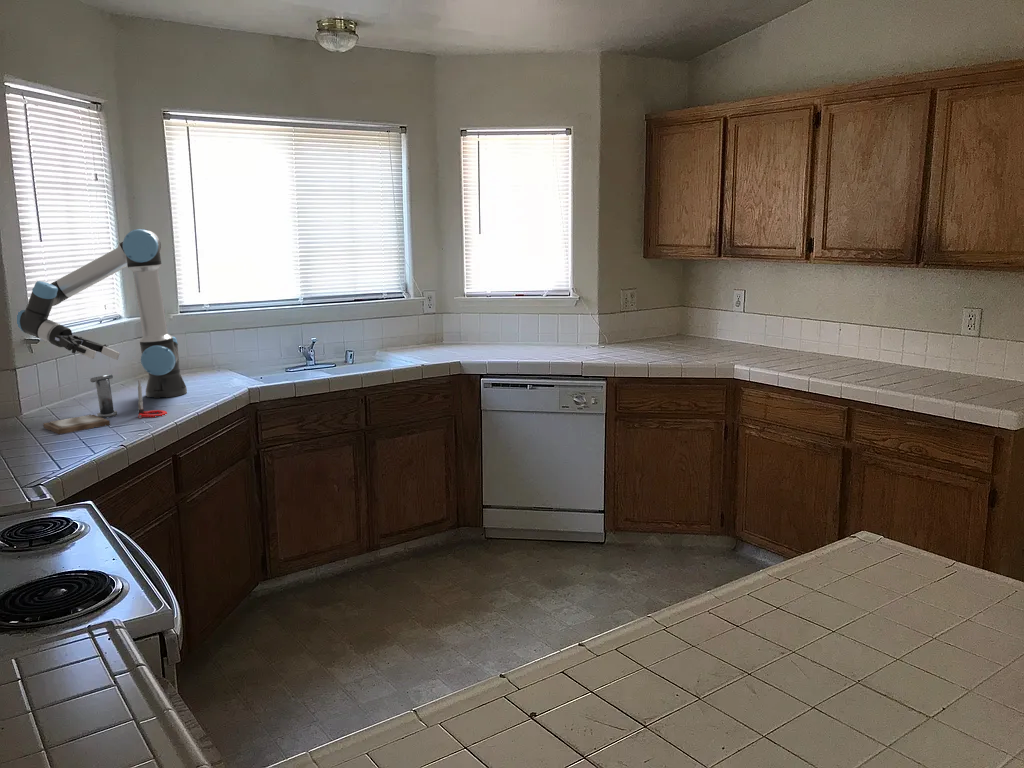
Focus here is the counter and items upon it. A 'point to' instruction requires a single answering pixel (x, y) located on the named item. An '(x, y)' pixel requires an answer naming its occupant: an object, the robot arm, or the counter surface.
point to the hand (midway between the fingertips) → (106, 355)
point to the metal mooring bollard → (104, 396)
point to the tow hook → (140, 404)
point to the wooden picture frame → (76, 424)
